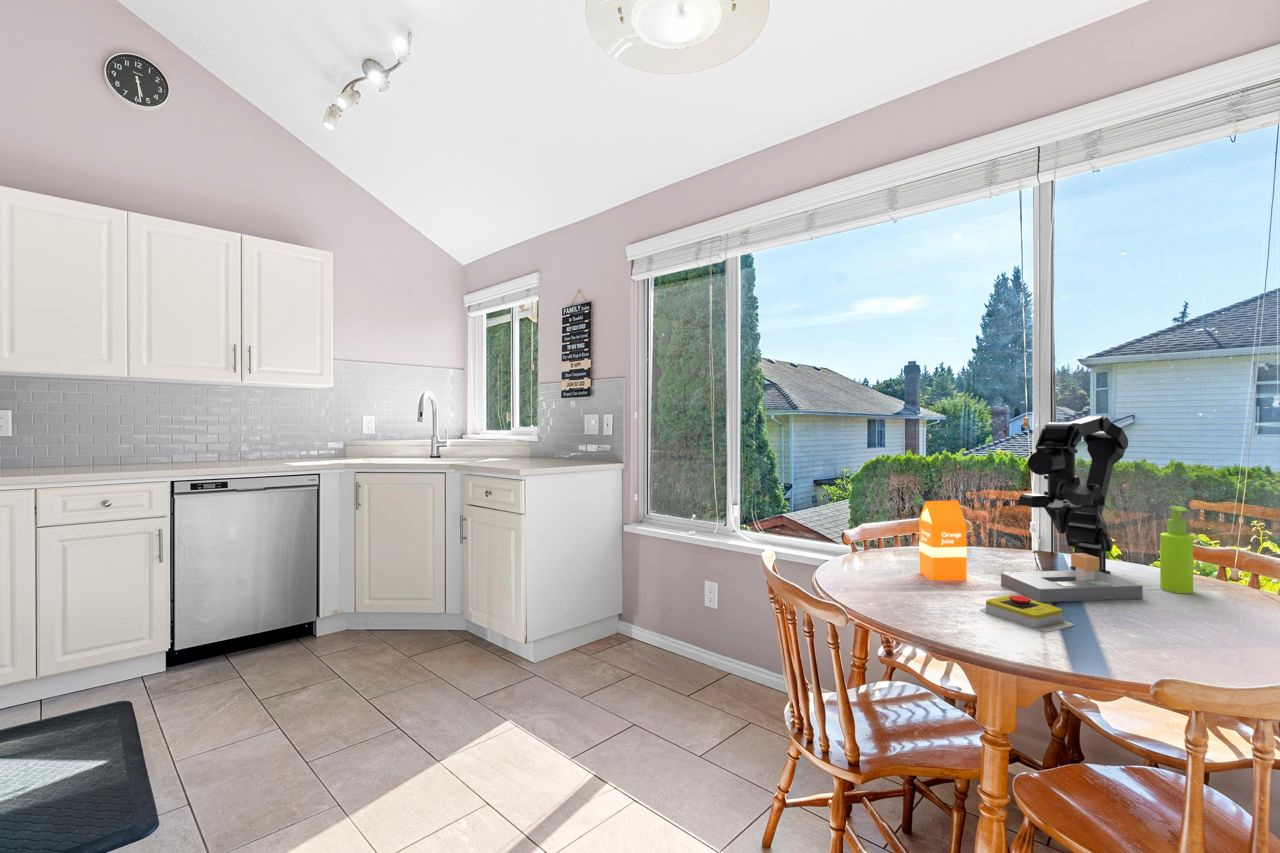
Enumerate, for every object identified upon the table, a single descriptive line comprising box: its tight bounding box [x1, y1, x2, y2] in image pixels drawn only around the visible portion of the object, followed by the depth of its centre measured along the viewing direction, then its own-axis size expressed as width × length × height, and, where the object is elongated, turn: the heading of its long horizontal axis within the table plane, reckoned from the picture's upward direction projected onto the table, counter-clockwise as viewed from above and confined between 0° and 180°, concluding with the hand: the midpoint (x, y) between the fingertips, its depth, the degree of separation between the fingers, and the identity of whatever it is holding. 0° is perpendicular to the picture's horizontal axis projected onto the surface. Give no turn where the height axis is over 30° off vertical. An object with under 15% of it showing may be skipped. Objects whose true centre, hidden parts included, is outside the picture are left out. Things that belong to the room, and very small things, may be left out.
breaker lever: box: [1070, 552, 1099, 581], centre depth 145 cm, size 3×5×7 cm, turn 2°
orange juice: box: [918, 500, 968, 581], centre depth 160 cm, size 8×9×20 cm
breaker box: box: [1000, 569, 1144, 603], centre depth 145 cm, size 24×14×3 cm, turn 92°
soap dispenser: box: [1159, 505, 1194, 594], centre depth 144 cm, size 6×7×20 cm
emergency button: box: [979, 594, 1075, 633], centre depth 128 cm, size 9×4×15 cm
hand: (1061, 533), depth 154 cm, fingers closed
